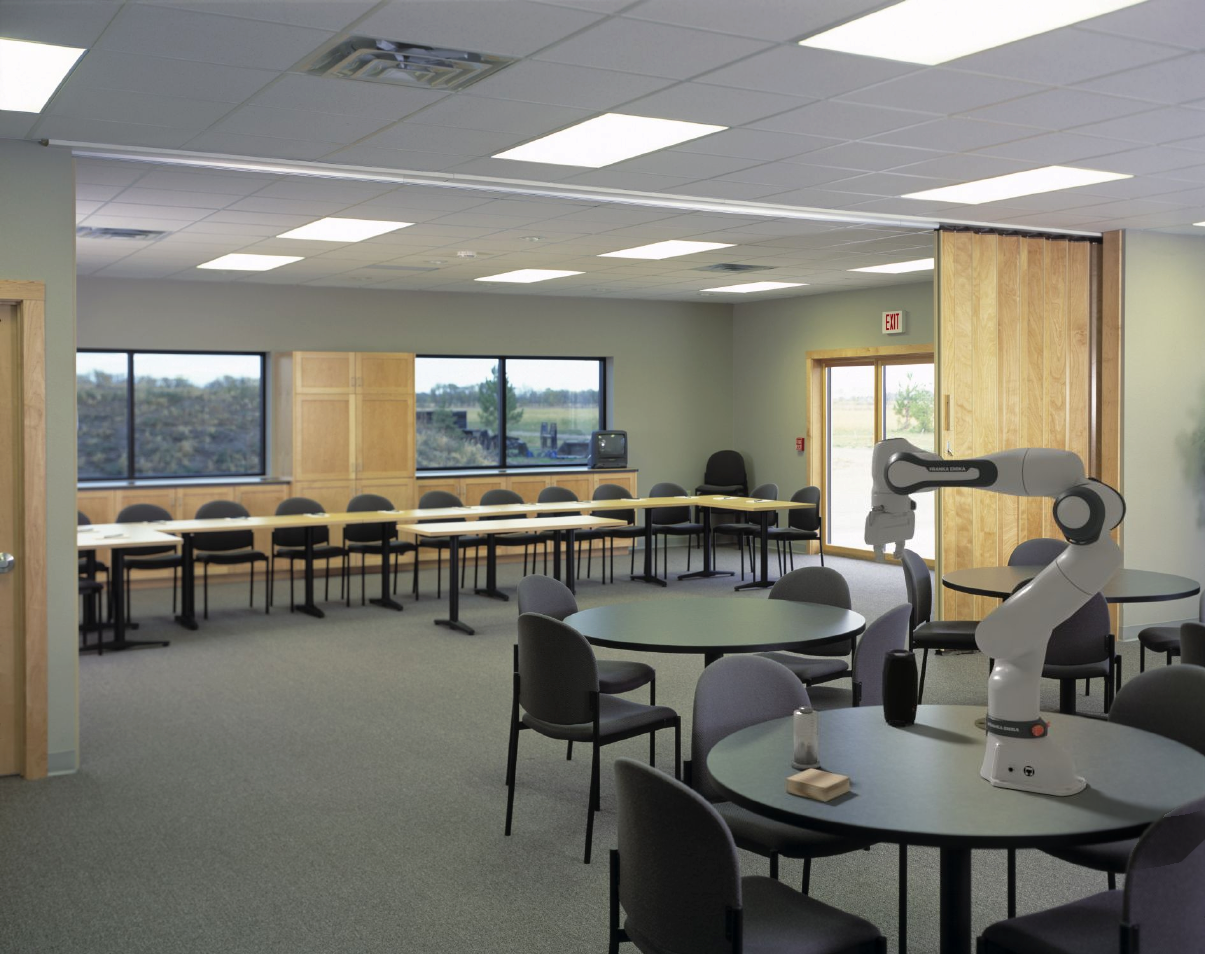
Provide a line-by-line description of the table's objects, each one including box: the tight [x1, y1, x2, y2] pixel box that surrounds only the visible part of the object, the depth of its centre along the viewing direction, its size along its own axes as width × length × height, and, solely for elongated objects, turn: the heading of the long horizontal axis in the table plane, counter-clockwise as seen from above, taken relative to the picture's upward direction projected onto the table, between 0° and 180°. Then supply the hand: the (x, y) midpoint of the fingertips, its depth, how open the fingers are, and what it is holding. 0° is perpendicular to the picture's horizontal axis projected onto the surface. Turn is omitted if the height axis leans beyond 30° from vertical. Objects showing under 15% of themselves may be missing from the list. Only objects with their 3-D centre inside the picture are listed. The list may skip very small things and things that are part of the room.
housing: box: [791, 705, 821, 772], centre depth 271 cm, size 7×7×14 cm
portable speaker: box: [881, 648, 919, 728], centre depth 309 cm, size 9×9×20 cm
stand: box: [785, 768, 851, 803], centre depth 253 cm, size 10×10×3 cm
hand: (889, 560), depth 281 cm, fingers open, 8 cm apart
